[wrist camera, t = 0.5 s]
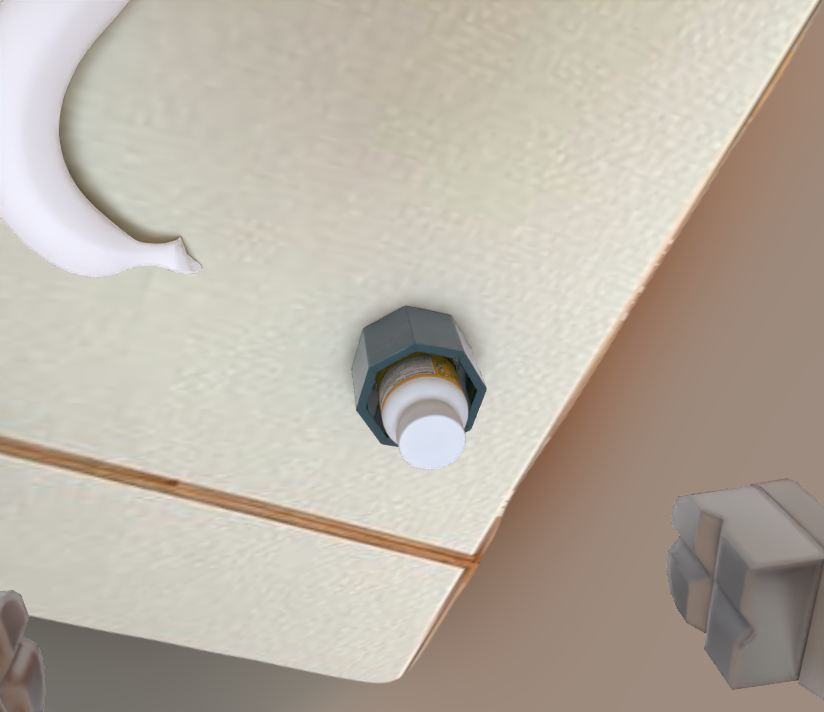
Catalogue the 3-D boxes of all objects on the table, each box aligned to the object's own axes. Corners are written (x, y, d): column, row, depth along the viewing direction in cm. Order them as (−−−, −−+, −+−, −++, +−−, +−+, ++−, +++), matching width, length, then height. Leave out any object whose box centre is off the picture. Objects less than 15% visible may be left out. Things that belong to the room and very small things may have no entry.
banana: (59, -144, 37) (329, 27, 43) (-56, 186, 45) (184, 296, 50) (28, -143, 33) (330, 46, 39) (-93, 219, 41) (172, 335, 46)
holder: (371, 298, 51) (378, 335, 47) (482, 321, 53) (499, 358, 49) (343, 396, 55) (347, 439, 51) (448, 414, 57) (460, 457, 52)
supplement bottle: (365, 334, 53) (378, 416, 44) (444, 317, 53) (470, 395, 44) (381, 399, 55) (396, 487, 47) (456, 383, 55) (483, 468, 47)
